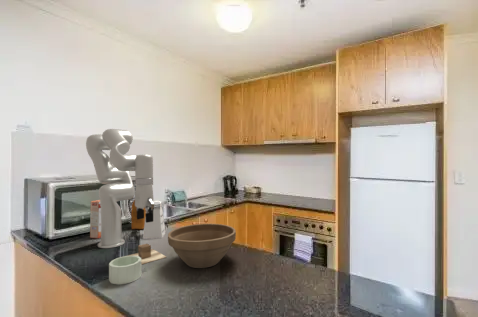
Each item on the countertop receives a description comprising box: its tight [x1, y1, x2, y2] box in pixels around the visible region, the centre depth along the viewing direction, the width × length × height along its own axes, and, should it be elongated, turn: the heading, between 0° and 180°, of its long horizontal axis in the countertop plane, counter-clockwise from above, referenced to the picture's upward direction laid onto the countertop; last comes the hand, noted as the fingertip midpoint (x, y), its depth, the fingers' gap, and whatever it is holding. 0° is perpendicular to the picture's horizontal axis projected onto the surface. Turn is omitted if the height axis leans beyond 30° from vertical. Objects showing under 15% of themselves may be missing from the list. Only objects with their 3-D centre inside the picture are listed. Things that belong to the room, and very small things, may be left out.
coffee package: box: [130, 198, 146, 230], centre depth 164 cm, size 10×12×22 cm
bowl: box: [108, 254, 143, 285], centre depth 94 cm, size 11×11×6 cm
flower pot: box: [167, 223, 237, 269], centre depth 108 cm, size 28×28×13 cm
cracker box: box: [89, 199, 101, 239], centre depth 149 cm, size 14×6×21 cm, turn 168°
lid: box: [127, 243, 167, 266], centre depth 113 cm, size 14×14×6 cm
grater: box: [142, 200, 166, 240], centre depth 146 cm, size 10×10×20 cm
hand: (144, 220), depth 113 cm, fingers open, 9 cm apart
